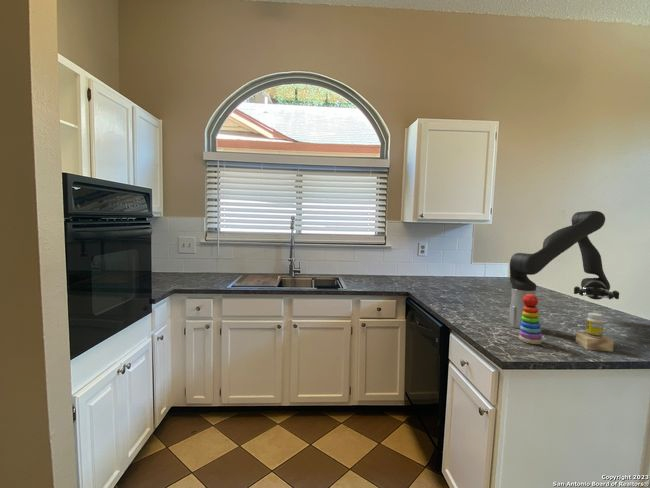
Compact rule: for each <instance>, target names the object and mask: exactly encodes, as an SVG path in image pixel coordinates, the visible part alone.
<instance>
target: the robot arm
mask: <svg viewBox="0 0 650 488" xmlns="http://www.w3.org/2000/svg"><path fill="white" fill-rule="evenodd" d="M605 223H606V215H605V214H604V213H603V212H601V211H599V210H587V211H577V212H575V213H573V215H572V217H571V225H568V226H565V227H563V228H559V229H557V230H555V231H553V232H552V233H551V234H549V235H548V236H546V238H545V239H544V240H543V242H542V248H541V249H539V250H538V251H536V252H534V253H525V252H516V253H514V254H512V255H511V257H510V260H509V280H510V283H511V302H510V303H509V318H508V319H509V320H508V322H509V325H510V326H511V327H512V328H514V329H519V330H521V329H520V326H521V321H522V319H521V317H522V316H523V315H522V312H523V311H524V310H523V307H524V306H526V305H525V304H524V303H523V297H524V296H525V295H527V294H532V295H535V296H536V297H537V284H536V283H535V282H534V281H532V280H531V279H530V278H529V277H528V275H529V276H532V275H536V274H538V273H539V272H541V271H542V270H544V268H545V267H546V266H547V265H548V264H549V263H550V262H552V261H553V260H555V259H556V258H558V256H560V255H562V253H565V251H567V250H569V249H570V248H572V246H574V245H576V244H578V247H579V251H580V255H581V260H582V267H583V272H584V273H586V274H587V275H588V274H590V275H595V276H597V277H586V278H585V277H584V278H583V279H582V280H581V281H580V282H581V283H580V286H574V287H573V294H575V295H577V294H578V295H580V296H583V297H584V296H585V297H588V298H589V299H591V300H597V301H598V300H599V301H600V300H602V299H608V300H612V299H616V300H619V299H620V292H619V291H618V290H613V291H610V290H611V284H610V282H609V280H608V278H607V277H606V274H605V272H604V268H603V262H602V255H601V254H600V252H599V250H598V248H596V247H595V245H594V244H593V243H592V241H591V240H590V238H589V235H591V234H594V233H595V232H596V231H599V230H601V228H602V227H603V226H604V225H605Z"/></svg>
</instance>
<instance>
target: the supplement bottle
mask: <svg viewBox="0 0 650 488" xmlns="http://www.w3.org/2000/svg"><path fill="white" fill-rule="evenodd" d="M587 316H588V317H587V318H586V329H585V332H586V334H587V335H588V336H590V337H596V338H602V337H603V335H604V320H603V314H601V313H598V312H588V313H587Z"/></svg>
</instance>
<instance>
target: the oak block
mask: <svg viewBox="0 0 650 488" xmlns="http://www.w3.org/2000/svg"><path fill="white" fill-rule="evenodd" d="M575 343H577V344H579V345H580V346H581V347H582V348H584V349H586V350H591V351H602V352H603V351H604V352H614V343H615V341H614V340H613V339H611V338H609V337H608V336H606V335H604V334H603V337H602V338H596V337H590V336H588V335H587V334H586V331H576V332H575Z"/></svg>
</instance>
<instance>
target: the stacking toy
mask: <svg viewBox="0 0 650 488" xmlns="http://www.w3.org/2000/svg"><path fill="white" fill-rule="evenodd" d="M523 303H524V304H525V305H526V306H524V307H523V310H524V311H523V312H522V315H523V316H522V317H521V319H522V321H521V326H520V329H519V335H518V339H519V340H520V342H523V343H525V342H526V344H529V343H530V345H541V344H542V343H543V341H544V339H543V334H542V329H541V323H540V317H539V308H538V307H537V305H538V303H539V299H538V297H537V295H536V296H535V295H532V294H527V295H525V296H524V297H523Z"/></svg>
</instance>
